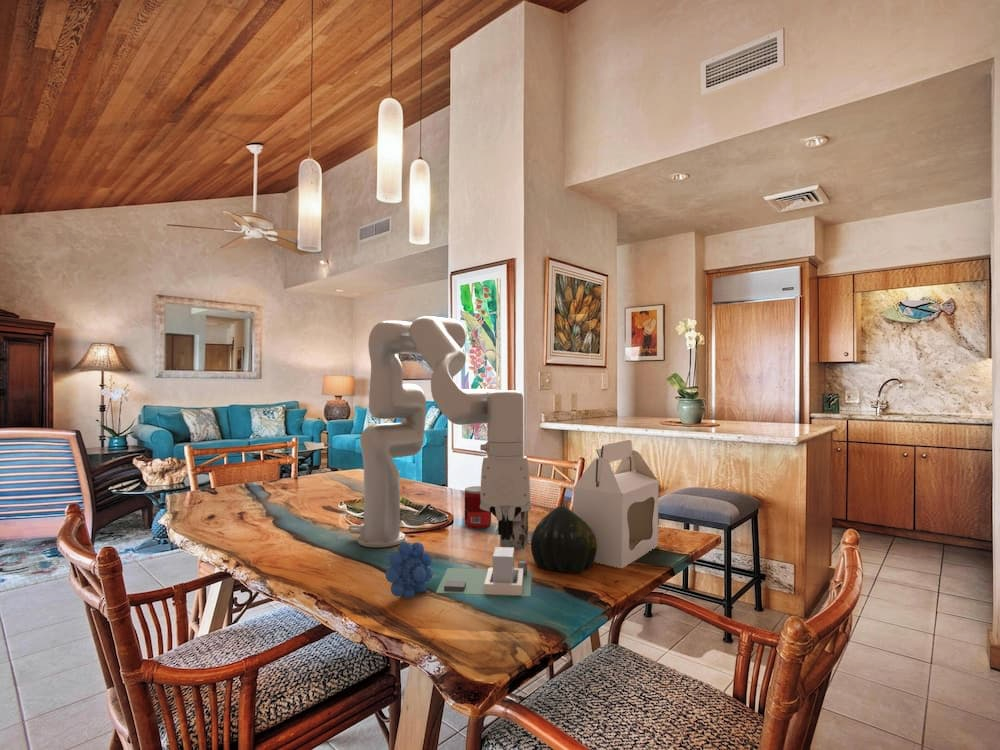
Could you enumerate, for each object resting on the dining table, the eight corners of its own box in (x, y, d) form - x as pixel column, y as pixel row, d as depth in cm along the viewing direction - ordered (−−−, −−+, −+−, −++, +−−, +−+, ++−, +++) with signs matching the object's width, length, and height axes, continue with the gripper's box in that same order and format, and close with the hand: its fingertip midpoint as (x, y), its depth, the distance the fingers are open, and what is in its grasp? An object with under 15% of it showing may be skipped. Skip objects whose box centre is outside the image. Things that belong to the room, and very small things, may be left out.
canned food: (495, 526, 161) (496, 489, 161) (473, 530, 156) (473, 492, 156) (482, 520, 167) (482, 485, 167) (459, 524, 162) (460, 487, 162)
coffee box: (523, 551, 137) (524, 488, 138) (499, 549, 139) (499, 487, 139) (529, 540, 146) (529, 481, 146) (505, 539, 148) (506, 480, 148)
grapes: (401, 616, 100) (401, 552, 100) (378, 606, 104) (378, 544, 104) (446, 597, 109) (446, 537, 109) (423, 588, 113) (423, 531, 113)
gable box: (613, 537, 151) (613, 437, 151) (658, 546, 142) (659, 440, 142) (572, 557, 133) (572, 444, 133) (621, 569, 125) (621, 449, 125)
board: (435, 598, 108) (435, 580, 108) (447, 573, 122) (447, 556, 122) (530, 602, 106) (530, 583, 106) (531, 576, 120) (531, 559, 120)
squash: (565, 564, 112) (589, 502, 120) (510, 552, 122) (535, 495, 130) (593, 594, 120) (613, 534, 128) (539, 580, 130) (561, 525, 138)
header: (484, 594, 107) (484, 584, 107) (488, 576, 117) (488, 567, 117) (521, 595, 107) (521, 585, 107) (523, 577, 116) (523, 568, 116)
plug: (492, 590, 109) (492, 556, 109) (495, 577, 116) (496, 544, 116) (512, 591, 109) (512, 556, 109) (514, 577, 116) (514, 545, 116)
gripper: (467, 451, 109) (467, 543, 108) (541, 452, 107) (541, 544, 107) (472, 447, 116) (472, 532, 116) (541, 447, 115) (541, 534, 115)
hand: (505, 538), depth 112 cm, fingers closed
